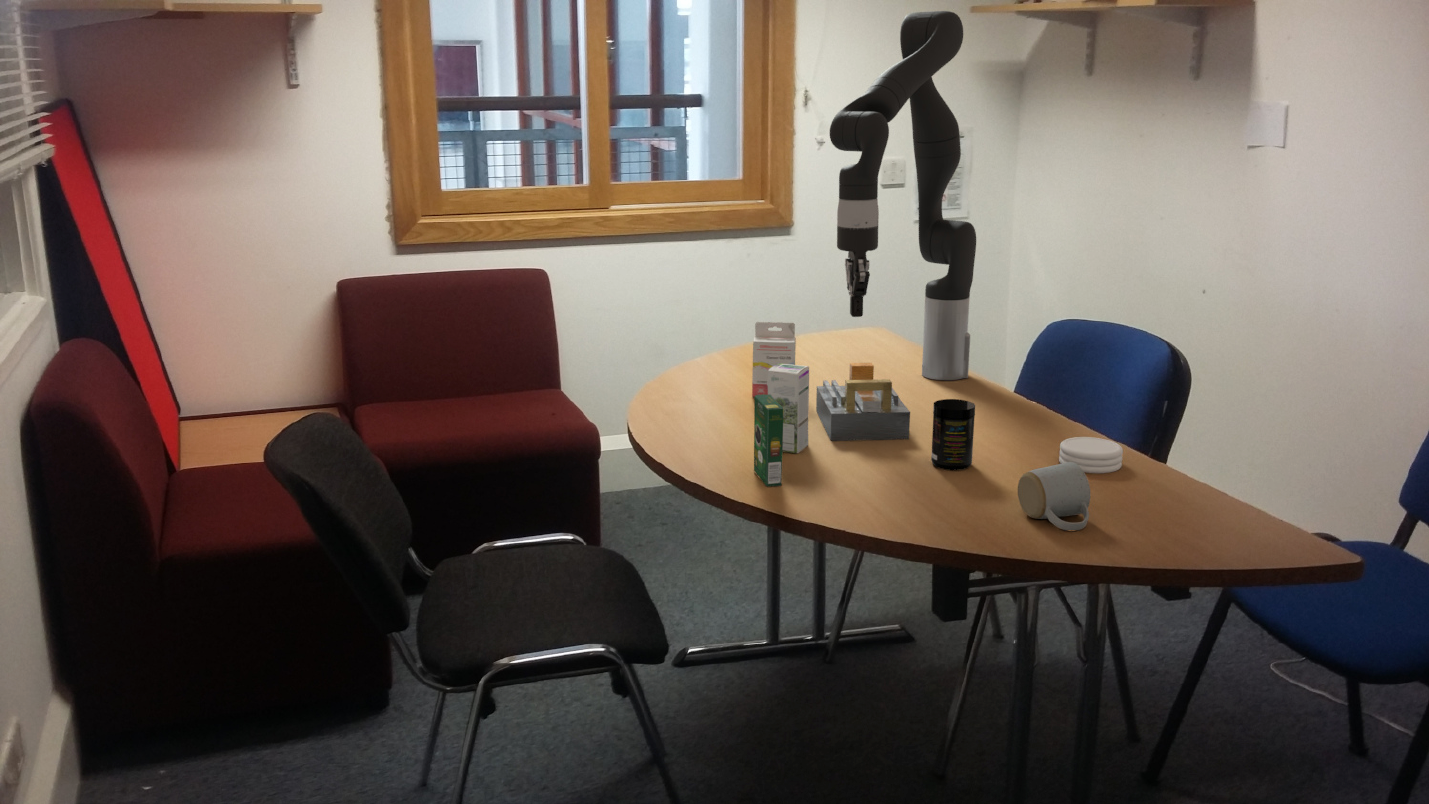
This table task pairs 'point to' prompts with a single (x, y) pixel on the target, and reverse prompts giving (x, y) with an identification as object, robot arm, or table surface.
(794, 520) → the table surface
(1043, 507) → the ceramic mug
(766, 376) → the ink cartridge box
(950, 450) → the supplement container
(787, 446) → the syrup box
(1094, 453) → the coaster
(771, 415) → the coffee box
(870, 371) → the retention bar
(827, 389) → the heatsink block
